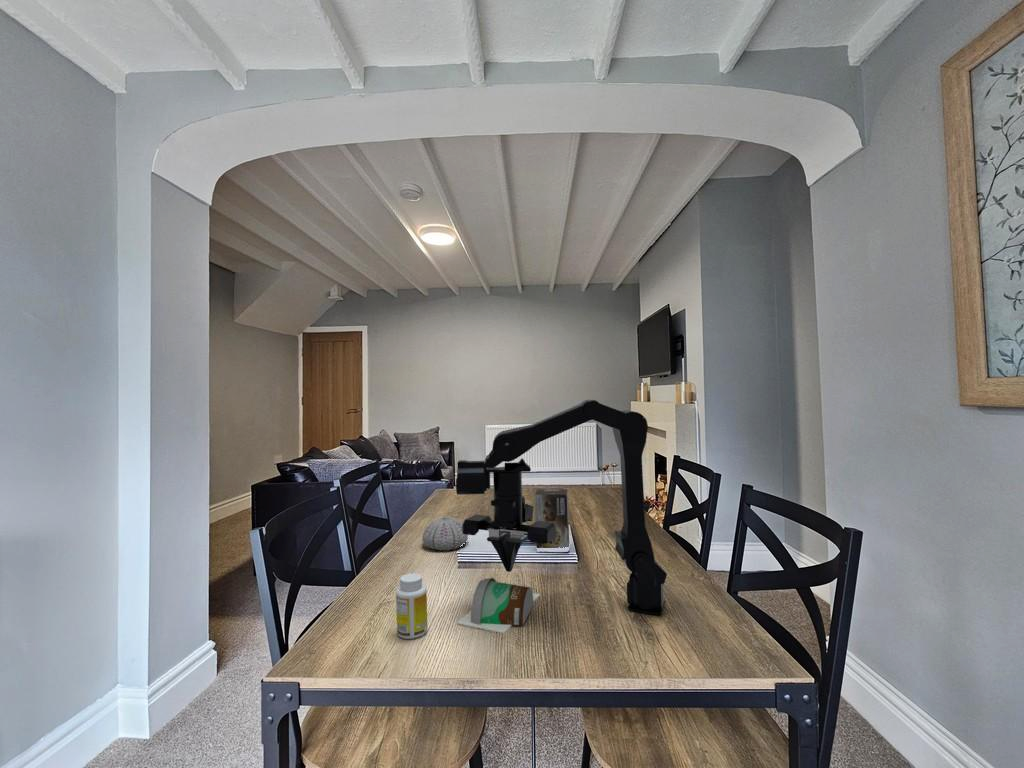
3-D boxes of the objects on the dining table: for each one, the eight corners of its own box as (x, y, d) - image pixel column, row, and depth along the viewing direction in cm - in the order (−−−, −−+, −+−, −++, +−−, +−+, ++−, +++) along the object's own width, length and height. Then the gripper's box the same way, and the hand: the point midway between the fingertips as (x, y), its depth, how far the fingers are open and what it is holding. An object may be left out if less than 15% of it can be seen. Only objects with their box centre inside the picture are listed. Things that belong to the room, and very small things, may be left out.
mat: (540, 595, 106) (540, 594, 106) (504, 634, 90) (504, 632, 90) (498, 588, 110) (498, 587, 110) (456, 624, 94) (456, 622, 94)
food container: (520, 595, 91) (469, 591, 94) (520, 629, 91) (469, 623, 94) (534, 571, 103) (488, 568, 105) (534, 601, 103) (489, 597, 105)
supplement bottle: (428, 624, 94) (427, 570, 94) (426, 639, 89) (425, 582, 89) (398, 626, 94) (397, 572, 94) (394, 641, 88) (393, 584, 88)
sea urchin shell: (452, 536, 152) (452, 510, 152) (477, 546, 141) (477, 518, 141) (413, 545, 143) (413, 517, 143) (437, 557, 133) (436, 527, 133)
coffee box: (569, 546, 139) (568, 489, 140) (569, 553, 133) (567, 493, 133) (537, 545, 141) (536, 488, 141) (535, 552, 134) (534, 493, 134)
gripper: (564, 488, 103) (566, 563, 103) (485, 483, 111) (486, 553, 111) (545, 500, 93) (547, 583, 93) (460, 493, 101) (461, 570, 101)
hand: (509, 571), depth 99 cm, fingers closed
